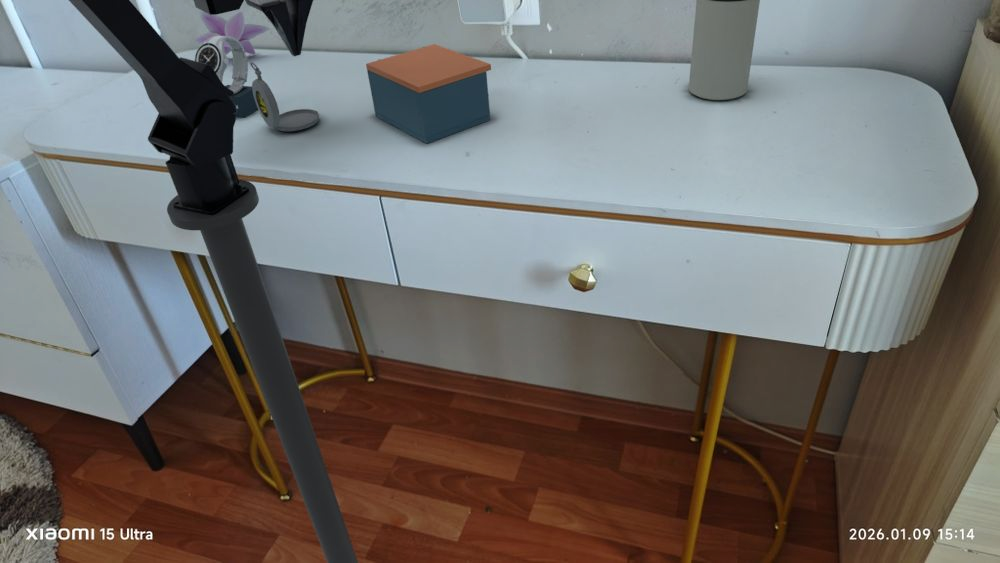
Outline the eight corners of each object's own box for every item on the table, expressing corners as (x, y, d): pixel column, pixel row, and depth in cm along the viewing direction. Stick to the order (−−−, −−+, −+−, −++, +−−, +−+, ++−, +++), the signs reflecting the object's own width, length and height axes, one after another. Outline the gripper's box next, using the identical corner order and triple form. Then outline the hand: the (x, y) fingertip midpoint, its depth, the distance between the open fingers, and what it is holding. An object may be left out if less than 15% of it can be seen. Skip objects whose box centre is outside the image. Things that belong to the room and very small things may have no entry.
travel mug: (712, 106, 94) (728, -37, 83) (677, 88, 100) (687, -47, 89) (759, 93, 96) (780, -47, 85) (721, 77, 102) (737, -56, 91)
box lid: (435, 49, 101) (434, 43, 100) (491, 70, 92) (490, 64, 91) (366, 69, 95) (365, 63, 95) (419, 93, 86) (418, 87, 86)
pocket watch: (329, 116, 100) (313, 47, 95) (297, 141, 94) (278, 68, 88) (281, 113, 103) (263, 46, 97) (247, 136, 97) (226, 66, 91)
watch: (206, 119, 103) (181, 45, 97) (240, 100, 109) (219, 29, 103) (237, 122, 101) (213, 47, 95) (269, 102, 107) (249, 30, 101)
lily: (286, 61, 127) (269, 9, 126) (247, 55, 116) (227, -2, 115) (235, 82, 131) (217, 32, 130) (192, 79, 120) (172, 23, 118)
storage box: (436, 95, 104) (430, 50, 100) (490, 120, 95) (486, 71, 91) (375, 116, 99) (366, 69, 95) (426, 143, 90) (419, 93, 86)
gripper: (307, -102, 86) (334, 25, 95) (155, -77, 78) (201, 60, 87) (348, -97, 79) (373, 41, 88) (185, -68, 70) (232, 81, 79)
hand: (296, 55), depth 86 cm, fingers closed
